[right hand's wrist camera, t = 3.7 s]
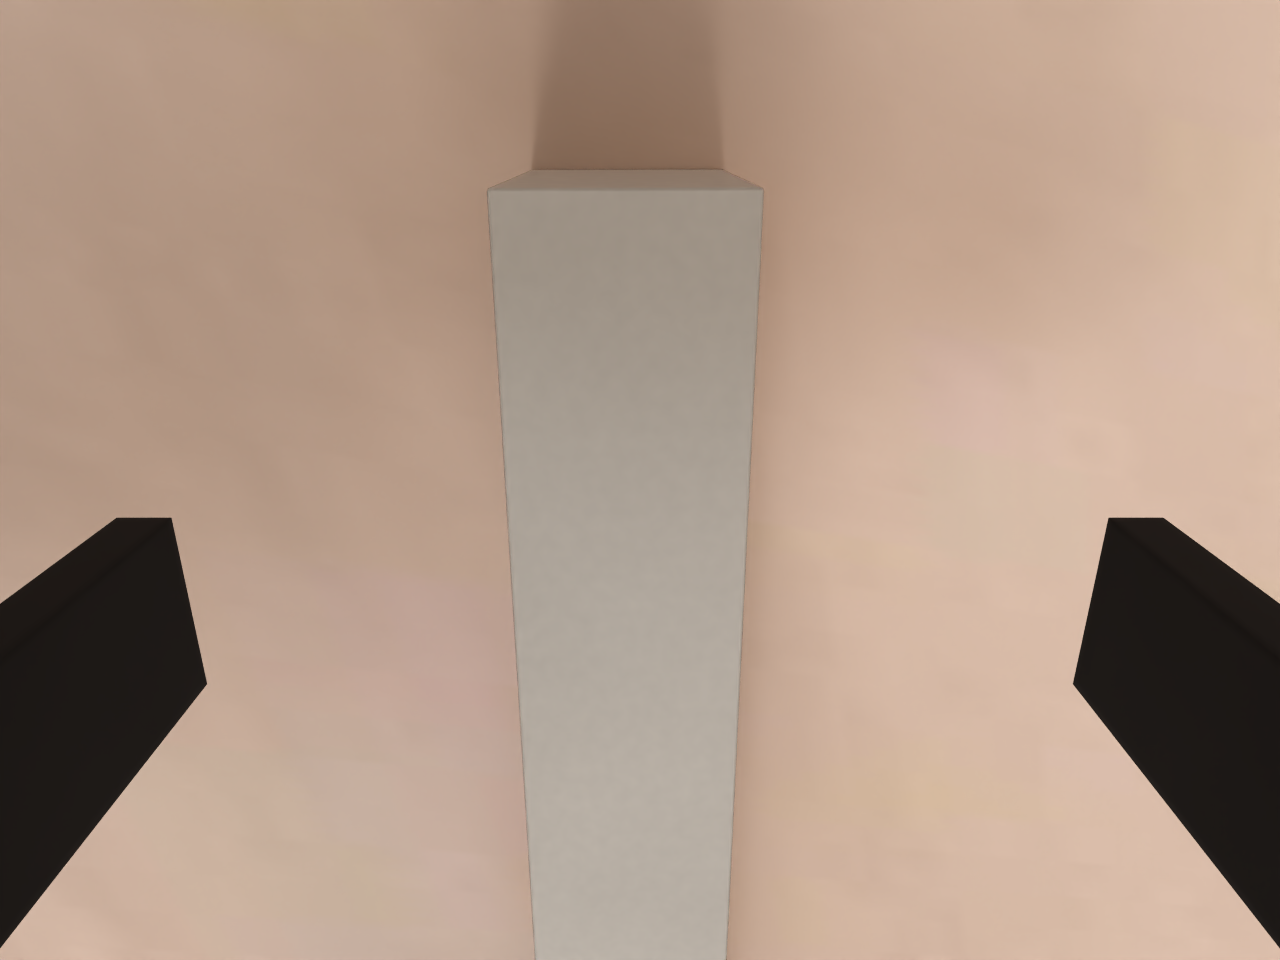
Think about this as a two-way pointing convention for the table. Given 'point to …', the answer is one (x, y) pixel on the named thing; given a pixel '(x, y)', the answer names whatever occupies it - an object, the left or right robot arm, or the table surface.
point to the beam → (627, 542)
